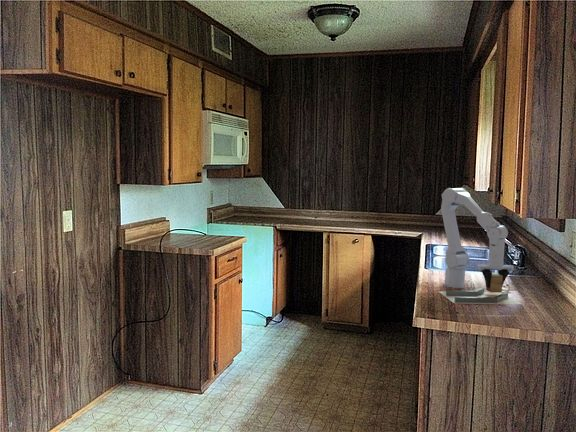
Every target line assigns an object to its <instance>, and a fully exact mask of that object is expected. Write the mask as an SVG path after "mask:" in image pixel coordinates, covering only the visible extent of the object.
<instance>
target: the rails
mask: <svg viewBox="0 0 576 432" xmlns="http://www.w3.org/2000/svg"><path fill="white" fill-rule="evenodd" d="M445 291H446V296H478V295H480V294H482V293H484V292H485V287H479V288H477V289H475V290H456V289H455V290H445ZM508 296H509V292H508V291H504V292H502V294H500V295H498V296H496V297H455V302H456V303H498V302H500V301H502V300H504V299H506V298H508ZM456 303H455V304H456Z"/></svg>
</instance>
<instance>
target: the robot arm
mask: <svg viewBox="0 0 576 432" xmlns="http://www.w3.org/2000/svg"><path fill="white" fill-rule="evenodd" d="M441 199H442V200H441V206H440V210H441V215H442V220H443V226H444V230H445V231H444V232H445V237H446V241H447V245H448V247H447V249H446V250H445V259H444V260H445V261H444V262H445V265H446V267H447V268H446V269H445V272H444V283H442V285H443V286H444V287H448V288H454V289H463V288H465V281H466V280H465V279H466V268H467V265H469V263H470V257H469V255H468V253H467V251H466V248H465V247H464V246H463V245H462V241H461V237H460V231H459V227H458V222H457V216H456V209H457V208H458V207H459V206H460V205H463V206H464V207H465V208H466V209H468V210H469V211H470V212H471V213H472V214H473V215H474V216H475V217H476V222H477V223H478V224H479V225H480V226H481V228H483V229H484V230H485V232H486V235H487V238H488V239H489V242H488V243H489V245H488V262H487V263H485V264H477V265H476V270H478V271H481V273H482V275H483V277H484V278H483V279H484V282H485V288H486V287H487V288H490V280H491V275H492V273H493V272H492V271H497V273H498V274H500V275H502V276H503V280H502V287H503V285H504V283H505V281H506V279H507V277H508V275H510V271H511V272H514V269H515V266H514V265H511V264H504V258H505V257H504V256H505V246H506V245H505V244H506V243H505V242H506V239H507V237H508V235H509V230H508V227H506V226H505V225H503V224H501V223H500V222H499V221H497V220H496V219H495V218H494V217H493V214H492V213H491V212H488V211H483V209H482V208H481V207H480V206H479V204H478V203H477V202H476V201H475V199H473V198H472V197H471V193H469V192H468V191H467V190H466V189H465V188H464V187H455V188H451V187H448V188H446V189H445V190H444V191H443V192H442V194H441Z"/></svg>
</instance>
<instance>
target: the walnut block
mask: <svg viewBox="0 0 576 432" xmlns="http://www.w3.org/2000/svg"><path fill="white" fill-rule="evenodd" d="M502 280H503V276H502V275H500V274H498V272H496V273H495V272H492V275H491V280H490V288H487V287H486V286H485V290H486V292H492V293H503V292H502V290H503V286H502Z"/></svg>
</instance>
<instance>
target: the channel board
mask: <svg viewBox="0 0 576 432" xmlns="http://www.w3.org/2000/svg"><path fill="white" fill-rule="evenodd" d="M438 293H440V294H441V295H442V296H443V297H445V298H446V299H448V300H449V302H452V303H453V304H467V305H468V304H469V305H471V304H472V305H474V304H475V305H476V304H477V305H518V306H519V307H520V306H521V307H522V306H523V303H521V302H519V301H518V300H517V299H514V298H512V297H510V296H509V295H508V298H506V299H504V300H502V301H500V302H498V303H456V302H455V297H496V296H498V295H500V294H502V293H503V292H502V293H492V292H489V291H484V293H482V294H480V295H478V296H446V290H445V291H443V290H441V291H438Z"/></svg>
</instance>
